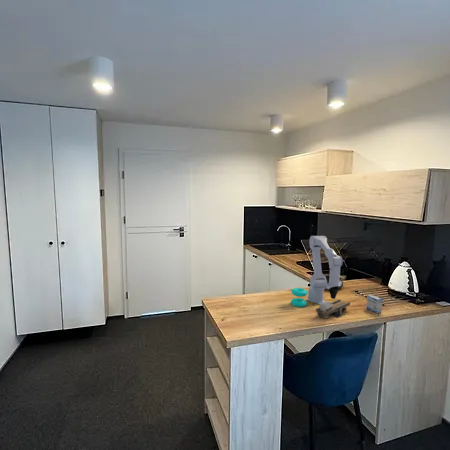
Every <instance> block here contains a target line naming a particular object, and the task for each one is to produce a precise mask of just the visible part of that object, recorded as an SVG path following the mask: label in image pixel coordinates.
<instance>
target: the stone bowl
mask: <svg viewBox="0 0 450 450" xmlns="http://www.w3.org/2000/svg"><path fill="white" fill-rule="evenodd" d="M323 275H324V276H325V277H326V281H327V284H328V283H329V277H330V274H323ZM315 279H321V278H315ZM346 279H347V275H340V279H339V281H341V282H342V285H341V286H338V287H340V289H341V288H343V287H344V283H343V281H346Z"/></svg>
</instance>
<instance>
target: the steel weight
mask: <svg viewBox="0 0 450 450" xmlns="http://www.w3.org/2000/svg"><path fill="white" fill-rule="evenodd" d="M324 301H325V302H322V303H320V304H318V308H319V310H320V311H323V312H327V311H329V310H331V309H332V306H333V303H331V302H330V301H327V300H324Z"/></svg>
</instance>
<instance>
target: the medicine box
mask: <svg viewBox="0 0 450 450" xmlns="http://www.w3.org/2000/svg"><path fill="white" fill-rule="evenodd" d="M366 297H367V298H366V305H365V307H366V310H369V311H371V312H372V313H376V314H378V313H382V311H383V300H384V299H383V298H382V297H378V296H376V295H373V294H368V295H367V296H366Z"/></svg>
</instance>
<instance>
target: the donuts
mask: <svg viewBox="0 0 450 450" xmlns="http://www.w3.org/2000/svg"><path fill="white" fill-rule="evenodd" d="M291 294H292V295H293V296H295V297H294V298H292V299H291V300H290V303H291V305H292V306H294V307H297V308H304V307H307V304H308V303H307V300H306V299H304V298H302V297H305V296H307V295H308V291H307V289H305V288H302V287H301V288H300V287H295V288H292V289H291Z"/></svg>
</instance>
